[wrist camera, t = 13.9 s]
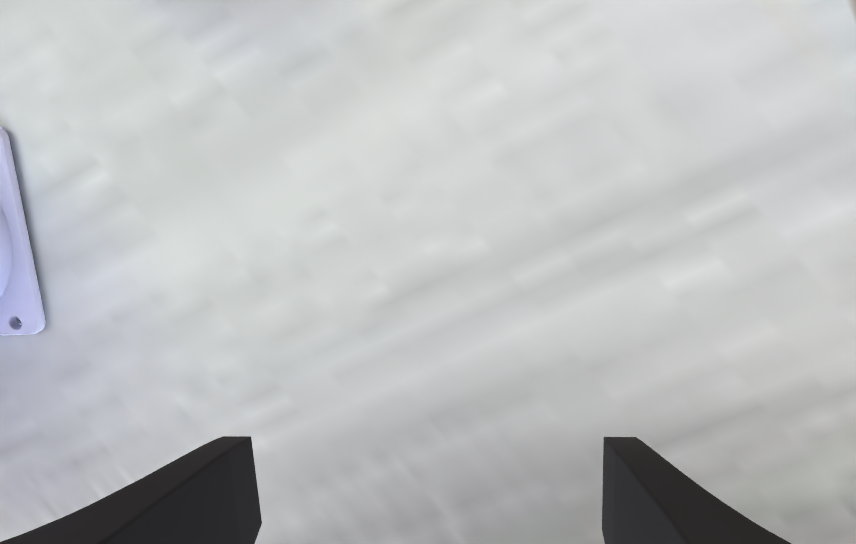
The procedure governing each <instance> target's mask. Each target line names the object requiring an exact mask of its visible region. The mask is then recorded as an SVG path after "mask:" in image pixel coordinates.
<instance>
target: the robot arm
mask: <svg viewBox="0 0 856 544" xmlns="http://www.w3.org/2000/svg"><path fill="white" fill-rule="evenodd" d="M17 318H18V319H20V321H21V325H19V324H18V322H17ZM44 327H45V316H44V311H43V306H42V301H41V296H40V291H39V286H38V281H37V276H36V271H35V266H34V261H33V256H32V251H31V246H30V241H29V236H28V231H27V226H26V221H25V216H24V211H23V206H22V201H21V196H20V191H19V186H18V181H17V176H16V171H15V166H14V161H13V156H12V151H11V146H10V141H9V137H8V134H7V132H6V131H5V130H4V128H2V127H1V126H0V335H31V334H35V333H37V332H40V331H41V330H42V329H44ZM261 524H262V521H261V513H260V505H259V497H258V489H257V481H256V473H255V465H254V457H253V449H252V441H251V437H221V438H218V439H216V440H213V441H211V442H209V443H207V444H205V445H203V446H201V447H199V448H197V449H195V450H193V451H191V452H189V453H188V454H186V455H184V456H182V457H180V458H178V459H177V460H175V461H173V462H171V463H169V464H167V465H166V466H164V467H162V468H160V469H158V470H156V471H155V472H153V473H151V474H149V475H147V476H145V477H144V478H142V479H140V480H138V481H136V482H134V483H132V484H130V485H128V486H126V487H124V488H122V489H120V490H118V491H116V492H115V493H113V494H111V495H109V496H107V497H105V498H103V499H101V500H99V501H97V502H95V503H93V504H91V505H89V506H87V507H85V508H82V509H80V510H78V511H76V512H74V513H72V514H69V515H67V516H65V517H63V518H60V519H58V520H56V521H53V522H51V523H48V524H46V525H44V526H41V527H39V528H36V529H34V530H32V531H29V532H27V533H24V534H21V535H19V536H16V537H13V538H10V539H8V540H5V541H2V542H0V544H254V543H255V540H256V538H257V535H258V532H259V529H260V527H261ZM602 531H603V536H604V541H605V544H791V543H789V542H787V541H786V540H784V539H782V538H780V537H778V536H777V535H775V534H773V533H771V532H769V531H768V530H766V529H764V528H762V527H761V526H759V525H757V524H756V523H754V522H752V521H751V520H749V519H748V518H746V517H745V516H743V515H742V514H740V513H739V512H737V511H735V510H734V509H732V508H731V507H729V506H728V505H726V504H725V503H723V502H722V501H720V500H719V499H717V498H716V497H715V496H713V495H712V494H710V493H709V492H708V491H706V490H705V489H703V488H702V487H701V486H699V485H698V484H696V483H695V482H694V481H692V480H691V479H690V478H688V477H687V476H686V475H685V474H683V473H682V472H681V471H679V470H678V469H677V468H675V467H674V466H673V465H672V464H670V463H669V462H668V461H666V460H665V459H664V458H663V457H661V456H660V455H659V454H658V453H656V452H655V451H654V450H652V449H651V448H650V447H649V446H647V445H646V444H645V443H643V442H642V441H641V440H639V439H638V438H636V437H604V455H603V507H602Z"/></svg>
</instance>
